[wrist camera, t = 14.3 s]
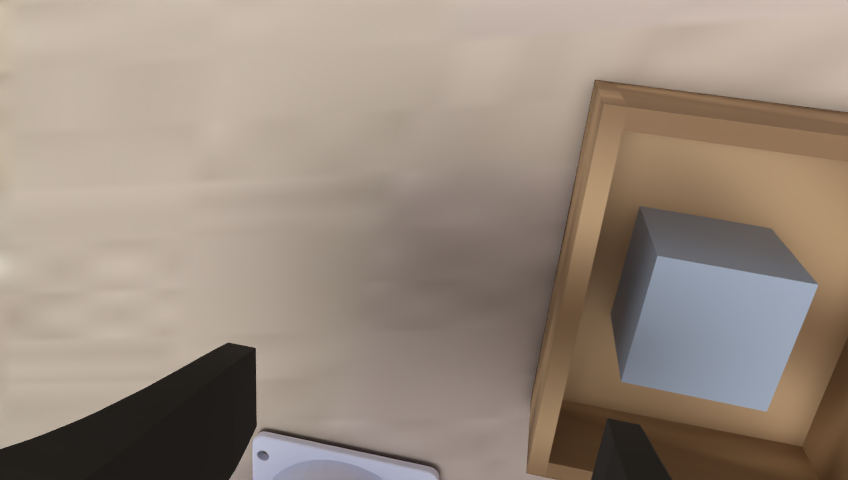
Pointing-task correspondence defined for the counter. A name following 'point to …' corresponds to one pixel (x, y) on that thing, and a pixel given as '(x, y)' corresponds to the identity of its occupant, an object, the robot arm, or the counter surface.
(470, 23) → the counter surface
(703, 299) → the block
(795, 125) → the wooden box
